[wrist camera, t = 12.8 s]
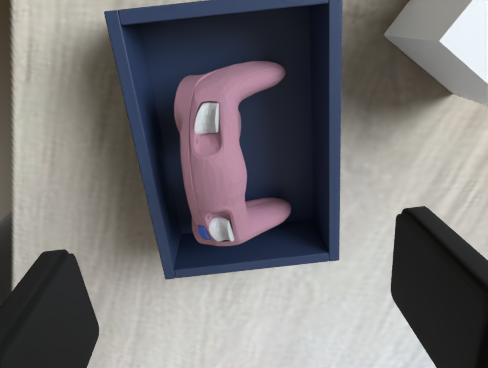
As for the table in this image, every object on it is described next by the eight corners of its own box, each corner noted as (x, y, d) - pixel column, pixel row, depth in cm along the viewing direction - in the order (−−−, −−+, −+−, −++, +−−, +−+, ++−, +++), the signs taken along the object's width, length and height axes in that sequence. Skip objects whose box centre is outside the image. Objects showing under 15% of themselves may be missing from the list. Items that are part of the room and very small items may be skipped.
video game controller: (216, 58, 22) (142, 79, 16) (290, 54, 20) (236, 77, 14) (233, 205, 26) (178, 264, 20) (296, 214, 24) (256, 281, 18)
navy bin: (174, 237, 26) (165, 280, 21) (128, 13, 20) (103, 11, 16) (320, 221, 26) (339, 260, 21) (317, -7, 20) (342, -14, 16)
